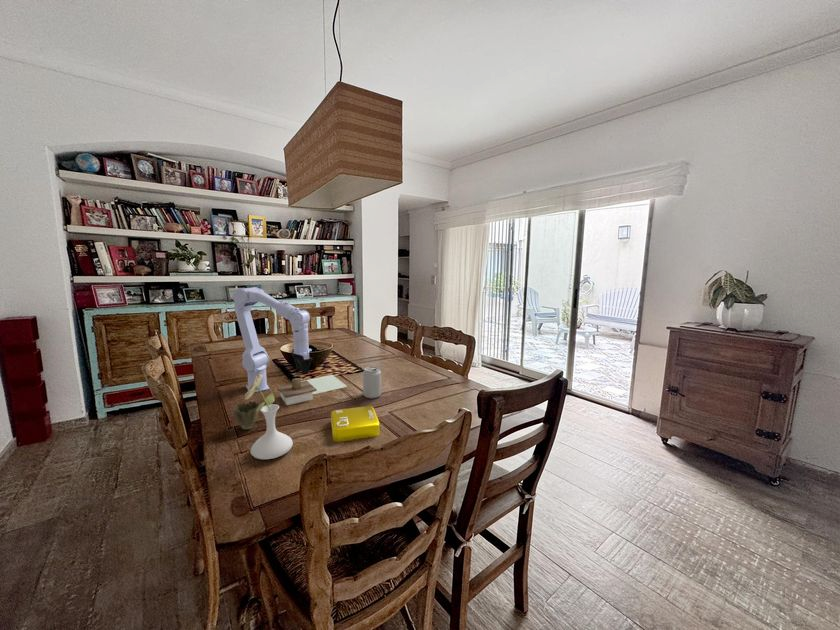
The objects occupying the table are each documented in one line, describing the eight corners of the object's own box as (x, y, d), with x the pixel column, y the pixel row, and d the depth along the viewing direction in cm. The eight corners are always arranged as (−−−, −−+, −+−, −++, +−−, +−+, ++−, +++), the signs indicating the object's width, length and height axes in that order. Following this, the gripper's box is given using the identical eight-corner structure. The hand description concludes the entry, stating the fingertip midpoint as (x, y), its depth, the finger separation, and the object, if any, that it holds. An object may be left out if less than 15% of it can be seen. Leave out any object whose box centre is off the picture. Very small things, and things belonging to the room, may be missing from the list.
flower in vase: (270, 438, 103) (265, 362, 99) (301, 445, 100) (297, 366, 96) (236, 462, 91) (229, 377, 86) (270, 470, 87) (264, 382, 83)
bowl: (280, 397, 134) (280, 388, 133) (305, 392, 139) (305, 383, 139) (287, 406, 126) (286, 396, 125) (312, 400, 131) (312, 390, 131)
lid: (277, 388, 133) (276, 378, 132) (306, 381, 140) (306, 372, 139) (285, 398, 124) (284, 387, 123) (316, 390, 131) (316, 381, 130)
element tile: (380, 437, 106) (380, 423, 105) (333, 444, 101) (332, 429, 100) (372, 416, 120) (372, 403, 119) (330, 421, 115) (330, 408, 115)
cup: (233, 435, 104) (231, 412, 103) (236, 425, 111) (234, 403, 109) (259, 431, 107) (258, 408, 106) (260, 421, 114) (259, 399, 112)
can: (377, 400, 132) (377, 372, 131) (360, 398, 134) (359, 370, 132) (383, 393, 140) (383, 366, 138) (366, 391, 141) (366, 364, 139)
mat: (299, 382, 150) (299, 381, 150) (332, 375, 160) (332, 374, 159) (311, 395, 136) (311, 394, 136) (347, 387, 145) (347, 386, 145)
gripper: (316, 342, 130) (317, 375, 132) (305, 335, 141) (307, 365, 144) (298, 344, 126) (299, 378, 128) (288, 337, 137) (290, 368, 140)
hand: (302, 371), depth 135 cm, fingers open, 7 cm apart
